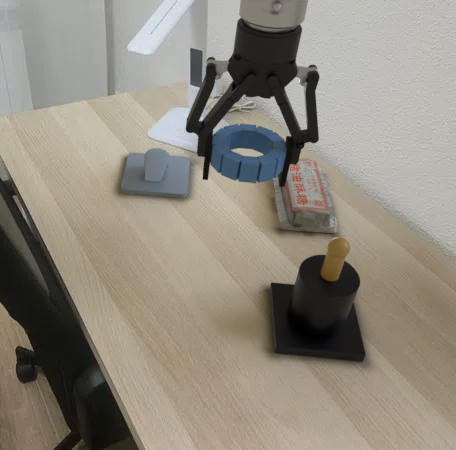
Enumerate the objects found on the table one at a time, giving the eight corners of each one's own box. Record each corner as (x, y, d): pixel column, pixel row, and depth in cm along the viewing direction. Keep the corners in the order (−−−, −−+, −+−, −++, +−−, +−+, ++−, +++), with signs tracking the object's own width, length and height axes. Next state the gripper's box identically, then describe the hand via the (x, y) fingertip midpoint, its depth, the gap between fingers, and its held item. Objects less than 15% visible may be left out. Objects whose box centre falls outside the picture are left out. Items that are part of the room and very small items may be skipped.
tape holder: (348, 296, 84) (380, 213, 74) (362, 361, 75) (401, 278, 64) (269, 289, 85) (289, 206, 74) (274, 353, 76) (298, 268, 65)
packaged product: (344, 213, 92) (284, 209, 92) (337, 235, 95) (279, 231, 95) (326, 154, 105) (274, 150, 106) (320, 174, 109) (270, 171, 109)
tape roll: (279, 145, 80) (283, 126, 78) (285, 186, 72) (289, 167, 70) (210, 139, 80) (212, 121, 78) (209, 179, 73) (211, 160, 71)
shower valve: (117, 177, 97) (128, 132, 108) (117, 201, 100) (128, 156, 111) (188, 182, 96) (191, 137, 107) (185, 207, 100) (189, 160, 111)
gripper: (170, 25, 61) (161, 186, 76) (376, 40, 60) (327, 201, 75) (175, 2, 67) (166, 156, 81) (363, 16, 66) (320, 169, 80)
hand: (243, 177), depth 78 cm, fingers closed on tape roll, 10 cm apart
